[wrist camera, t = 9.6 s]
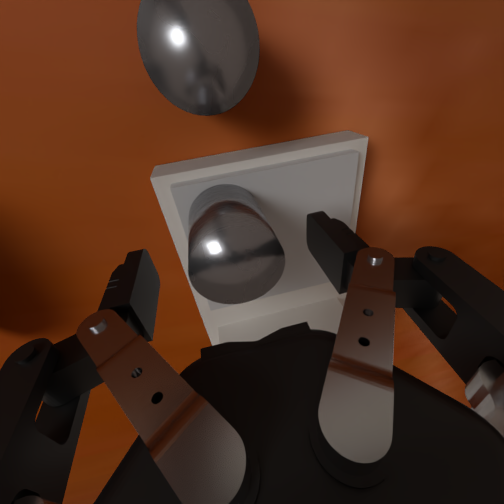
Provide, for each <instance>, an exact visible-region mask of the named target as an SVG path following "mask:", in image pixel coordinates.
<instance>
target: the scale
mask: <svg viewBox="0 0 504 504" xmlns="http://www.w3.org/2000/svg"><path fill="white" fill-rule="evenodd" d="M367 144H368V137H367V136H364V135H361V134H358V133H355V132H352V131H349V130H347V131H342V132H336V133H331V134H325V135H320V136H315V137H309V138H304V139H298V140H293V141H288V142H282V143H277V144H271V145H266V146H261V147H255V148H250V149H244V150H239V151H234V152H228V153H223V154H217V155H212V156H207V157H201V158H196V159H190V160H185V161H179V162H174V163H169V164H163V165H158V166H155V167H154V170H153V172H152V175H151V177H150V179H151V182H152V185H153V187H154V190H155V193H156V195H157V198H158V201H159V204H160V206H161V209H162V212H163V214H164V217H165V220H166V222H167V225H168V228H169V230H170V233H171V236H172V239H173V241H174V244H175V247H176V249H177V252H178V255H179V257H180V260H181V263H182V265H183V268H184V271H185V273H186V276H187V279H188V282H189V284H190V287H191V290H192V292H193V295H194V298H195V300H196V303H197V306H198V308H199V311H200V314H201V317H202V319H203V322H204V325H205V327H206V330H207V333H208V335H209V338H210V341H211V343H212V346H213V345H217V344H221V343H225V342H243V341H257V340H260V339H262V338H263V337H265V336H267V335H269V334H271V333H273V332H275V331H277V330H279V329H281V328H283V327H287V326H291V325H295V324H299V323H303V322H307V323H308V325H309V327H310V329H317V330H324V331H329V332H332V333H335V334H337V332H338V328H339V324H340V319H341V315H342V311H343V307H344V303H345V298H346V294H347V293H343V294H339V293H338V292H337V290H336V289H335V288H334V286H333V285H332V283H331V282H330V280H329V279H328V277H327V276H326V274H325V273H324V272H323V270H322V269H321V267H320V266H319V264H318V263H317V261H316V260H315V258H314V257H313V256H312V254H311V253H310V251H309V249H308V246H307V241H306V219H307V214H309V213H314V212H319V211H324V212H325V213H326V214H327V215H328V216H329V217H330V218H331V219H332V218H336V219H338V220H340V221H342V222H344V223H345V224H346V225H347V226H348V227H349V229H351V230H352V231H353V232H354V233H355V232H356V224H357V217H358V210H359V203H360V195H361V188H362V181H363V173H364V166H365V159H366V152H367ZM219 184H233V185H237V186H240V187H242V188H244V189H246V190H247V191H249V192H250V193H251V194H252V195H253V196H254V197H255V199H256V200H257V202H258V204H259V206H260V207H261V209H262V211H263V213H264V215H265V217H266V218H267V220H268V222H269V224H270V226H271V227H272V229H273V231H274V233H275V235H276V237H277V238H278V240H279V242H280V244H281V246H282V248H283V250H284V253H285V267H284V271H283V274H282V276H281V278H280V279H279V281H278V282H277V283H276V285H275V286H274V287H273V288H272V289H271V290H270V291H268V292H267V293H266V294H264V295H263V296H261V297H259V298H257V299H255V300H252V301H249V302H246V303H241V304H221V303H216V302H213V301H211V300H208V299H206V298H205V297H203V296H202V295H200V294H199V293H198V292H197V291H196V290H195V289H194V287H193V286H192V284H191V282H190V279H189V275H188V217H189V210H190V207H191V205H192V203H193V201H194V200H195V198H196V197H197V196H198V195H199V194H200V193H201V192H203V191H204V190H206V189H207V188H209V187H212V186H215V185H219Z"/></svg>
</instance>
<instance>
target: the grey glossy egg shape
mask: <svg viewBox="0 0 504 504" xmlns="http://www.w3.org/2000/svg"><path fill="white" fill-rule="evenodd" d="M284 267H285V253H284V250H283V248H282V246H281V244H280V242H279V240H278V238H277V237H276V235H275V233H274V231H273V229H272V227H271V226H270V224H269V222H268V220H267V218H266V217H265V215H264V213H263V211H262V209H261V207H260V206H259V204H258V202H257V200H256V199H255V197H254V196H253V195H252V194H251V193H250V192H249V191H247V190H246V189H244V188H242V187H240V186H237V185H233V184H219V185H215V186H212V187H209V188H207V189H206V190H204V191H203V192H201V193H200V194H199V195H198V196H197V197H196V198H195V200H194V201H193V203H192V205H191V207H190V210H189V217H188V275H189V279H190V282H191V284H192V286H193V287H194V289H195V290H196V291H197V292H198V293H199V294H200V295H202V296H203V297H205V298H206V299H208V300H211V301H213V302H216V303H221V304H241V303H246V302H249V301H252V300H255V299H257V298H259V297H261V296H263V295H264V294H266V293H267V292H268V291H270V290H271V289H272V288H273V287H274V286H275V285H276V283H277V282H278V281H279V279H280V278H281V276H282V274H283V271H284Z"/></svg>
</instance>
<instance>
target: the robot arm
mask: <svg viewBox="0 0 504 504" xmlns="http://www.w3.org/2000/svg"><path fill="white" fill-rule="evenodd" d="M306 241H307V246H308V249H309V251H310V253H311V254H312V256H313V257H314V258H315V260H316V261H317V263H318V264H319V266H320V267H321V269H322V270H323V272H324V273H325V274H326V276H327V277H328V279H329V280H330V282H331V283H332V285H333V286H334V288H335V289H336V290H337V292H338V293H339V294H343V293H347V294H346V298H345V303H344V307H343V311H342V315H341V319H340V324H339V328H338V332H337V334H335V333H332V332H329V331H324V330H317V329H310V327H309V325H308V323H307V322H303V323H299V324H295V325H291V326H287V327H283V328H281V329H279V330H277V331H275V332H273V333H271V334H269V335H267V336H265V337H263V338H262V339H260V340H257V341H243V342H225V343H221V344H217V345H213V346H210V347H206V348H202V349H201V358H200V359H198V360H196V361H195V362H193V363H192V364H190V365H189V366H188V367H187V368H185V369H184V370H183V371H182V372H181V373H180V375H179V374H178V373H177V372H176V371H175V370H174V369H173V368H172V367H171V366H170V365H169V364H168V363H167V362H166V361H165V360H164V359H163V357H162V356H161V355H160V354H159V353H158V352H157V351H156V350H155V349H154V348H153V347H152V346H151V345H150V344H149V343H148V342H149V341H152V340H153V333H154V326H155V318H156V311H157V303H158V296H159V288H160V280H159V276H158V273H157V271H156V268H155V266H154V264H153V262H152V260H151V258H150V256H149V253H148V252H147V250H146V249H142V250H137V251H132V252H129V253H128V254H127V257H126V260H125V263H124V264H122V265H119V266H118V267H117V268H116V269H115V270H114V271H113V273H112V275H111V277H110V280H109V283H108V285H107V289H106V290H105V293H104V295H103V298H102V301H101V303H100V306H99V309H98V311H97V312H95V313H93V314H91V315H90V316H88V317H87V318H86V319H85V320H84V321H83V322H82V323H81V324H80V325H79V327H78V329H77V332H76V334H75V335H73V336H71V337H69V338H66V339H64V340H62V341H60V342H58V343H56V344H54V345H53V344H52V343H51V342H50V341H49V340H48V339H46V338H39V339H35V340H32V341H30V342H28V343H26V344H24V345H22V346H21V347H19V348H18V349H17V350H16V351H14V352H13V353H12V354H11V355H10V356H9V357H8V359H7V360H6V361H5V363H4V365H3V366H2V368H1V370H0V504H62V502H63V498H64V494H65V490H66V486H67V482H68V478H69V474H70V470H71V466H72V462H73V458H74V454H75V450H76V446H77V442H78V438H79V434H80V430H81V426H82V422H83V418H84V414H85V410H86V406H87V402H88V398H89V394H90V390H91V389H92V388H94V387H96V386H98V385H99V384H101V383H103V382H105V384H106V385H107V387H108V388H109V390H110V391H111V393H112V394H113V396H114V397H115V399H116V400H117V402H118V403H119V405H120V407H121V408H122V410H123V411H124V413H125V414H126V416H127V417H128V419H129V420H130V422H131V423H132V425H133V426H134V428H135V429H136V431H137V432H138V434H139V435H138V437H137V438H136V440H135V441H134V443H133V444H132V446H131V447H130V449H129V450H128V452H127V454H126V455H125V457H124V458H123V460H122V461H121V463H120V464H119V466H118V467H117V469H116V470H115V472H114V473H113V475H112V476H111V478H110V479H109V481H108V482H107V484H106V485H105V487H104V488H103V490H102V492H101V493H100V495H99V496H98V498H97V499H96V501H95V502H94V504H504V291H503V290H502V289H500V288H499V287H498V286H496V285H495V284H494V283H492V282H491V281H490V280H488V279H487V278H486V277H484V276H483V275H481V274H480V273H479V272H477V271H476V270H475V269H473V268H472V267H471V266H469V265H468V264H467V263H465V262H464V261H463V260H461V259H460V258H459V257H457V256H456V255H454V254H453V253H452V252H450V251H448V250H446V249H443V248H439V247H432V246H427V247H421V248H419V249H418V250H417V251H416V253H415V256H414V258H394V257H393V255H392V254H391V253H389V252H388V251H386V250H384V249H381V248H375V247H369V246H368V245H367V244H366V243H365V242H364V241H363V240H362V239H361V238H360V237H359V236H358V235H357V234H356V233H354V232H353V231H352V230H351V229H349V227H348V226H347V225H346V224H345V223H344V222H342V221H340V220H338V219H336V218H332V219H331V218H330V217H329V216H328V215H327V214H326V213H325V212H324V211H319V212H314V213H309V214H307V219H306ZM442 296H443V297H444V298H445V299H446V300H447V301H448V302H449V303H450V304H451V305H452V306H453V307H454V308H455V310H456V313H457V315H456V314H455V313H454V312H453V311H452V310H451V309H450V308H449V307H448V306H447V305H446V304H445V303H444V302H443V301H442V300H441V298H442ZM395 308H403V309H404V310H405V311H406V313H407V314H408V315H409V316H410V317H411V319H412V320H413V321H414V322H415V323H416V325H417V326H418V327H419V328H420V330H421V331H422V332H423V333H424V334H425V336H426V337H427V338H428V339H429V340H430V342H431V343H432V344H433V345H434V346H435V348H436V349H437V350H438V351H439V353H440V354H441V355H442V356H443V357H444V359H445V360H446V361H447V362H448V363H449V365H450V366H451V367H452V368H453V369H454V371H455V372H456V373H457V374H458V375H459V377H460V378H461V379H462V380H463V382H464V383H465V384H466V386H465V394H466V397H467V399H468V401H469V403H470V405H471V406H472V407H471V409H470V408H469V407H467V406H465V405H464V404H462V403H460V402H458V401H457V400H455V399H453V398H451V397H449V396H448V395H446V394H444V393H442V392H440V391H439V390H437V389H435V388H433V387H431V386H430V385H428V384H426V383H424V382H423V381H421V380H419V379H417V378H415V377H414V376H412V375H410V374H408V373H406V372H405V371H403V370H401V369H399V368H397V367H396V366H394V365H393V348H394V325H395ZM41 401H43V404H42V406H41V409H40V411H39V414H38V417H37V419H36V422H35V418H36V414H37V411H38V409H39V406H40V404H41Z"/></svg>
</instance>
